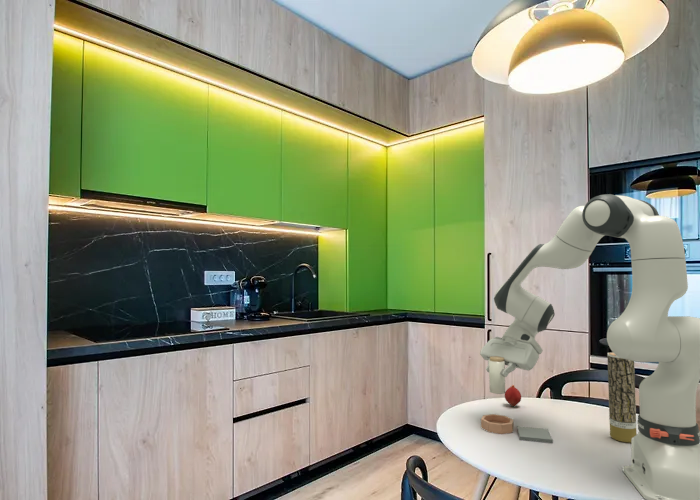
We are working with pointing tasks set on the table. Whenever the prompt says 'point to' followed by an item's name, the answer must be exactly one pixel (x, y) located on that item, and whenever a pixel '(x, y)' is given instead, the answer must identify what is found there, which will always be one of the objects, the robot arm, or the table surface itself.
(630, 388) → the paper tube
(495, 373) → the spice jar
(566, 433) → the table surface
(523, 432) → the slate coaster
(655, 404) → the robot arm
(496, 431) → the terracotta dish
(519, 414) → the table surface
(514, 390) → the onion
